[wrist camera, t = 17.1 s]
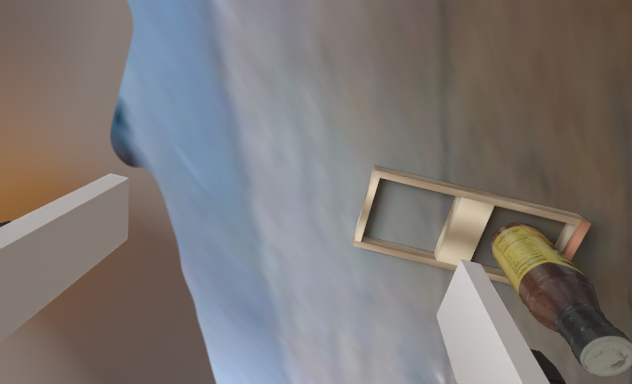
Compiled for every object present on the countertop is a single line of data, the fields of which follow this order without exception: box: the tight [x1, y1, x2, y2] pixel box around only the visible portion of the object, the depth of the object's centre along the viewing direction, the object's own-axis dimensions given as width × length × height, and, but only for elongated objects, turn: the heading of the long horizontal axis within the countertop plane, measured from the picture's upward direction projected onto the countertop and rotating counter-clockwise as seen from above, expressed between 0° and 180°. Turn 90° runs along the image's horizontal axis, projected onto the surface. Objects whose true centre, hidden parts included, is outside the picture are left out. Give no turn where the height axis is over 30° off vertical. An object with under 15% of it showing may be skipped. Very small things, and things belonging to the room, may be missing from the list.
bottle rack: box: [353, 165, 592, 284], centre depth 46 cm, size 11×26×3 cm, turn 78°
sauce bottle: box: [491, 223, 632, 376], centre depth 38 cm, size 6×6×20 cm
